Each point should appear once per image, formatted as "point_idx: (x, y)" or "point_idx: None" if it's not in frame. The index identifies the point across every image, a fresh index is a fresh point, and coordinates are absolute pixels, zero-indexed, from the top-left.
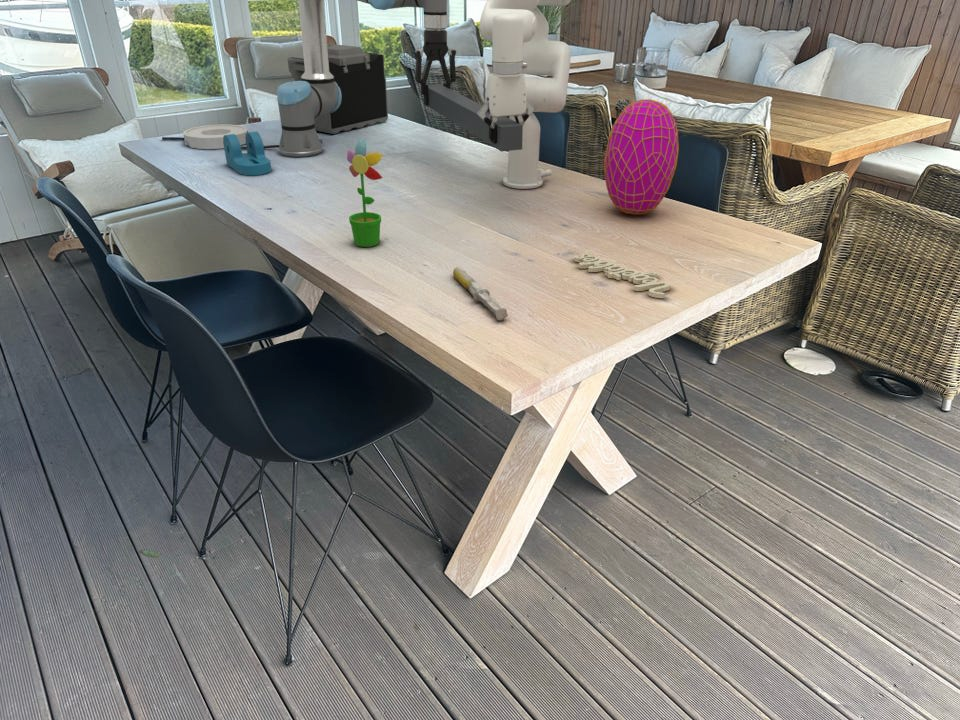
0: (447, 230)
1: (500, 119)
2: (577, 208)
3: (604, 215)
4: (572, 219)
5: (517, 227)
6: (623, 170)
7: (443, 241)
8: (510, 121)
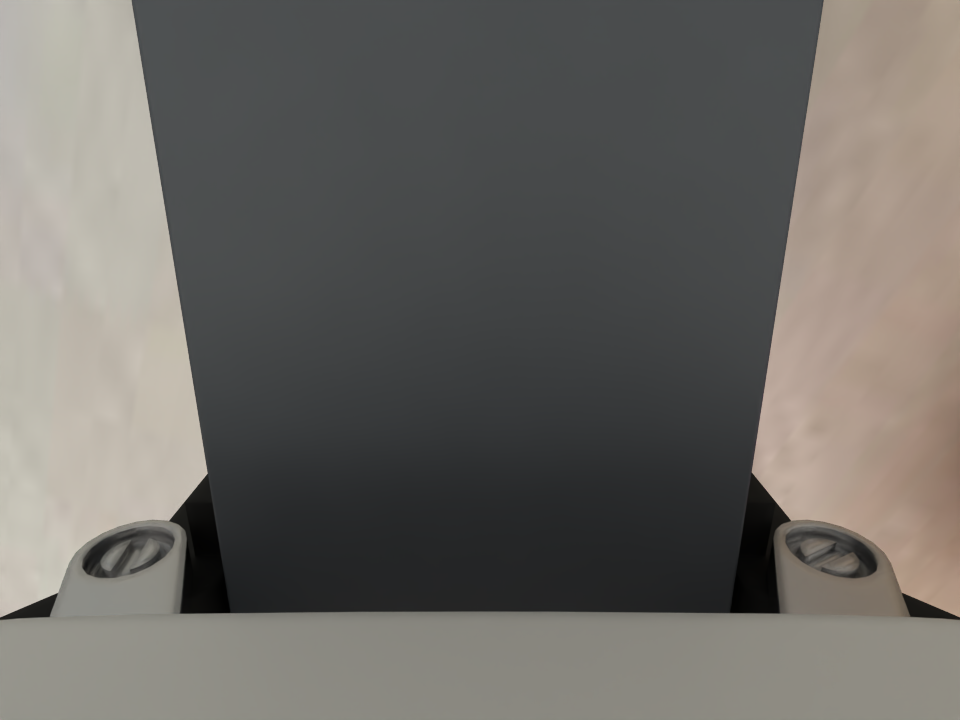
0: (131, 405)
1: (511, 282)
2: (899, 299)
3: (944, 435)
4: (768, 440)
5: None
6: None
7: (95, 522)
8: (640, 565)
